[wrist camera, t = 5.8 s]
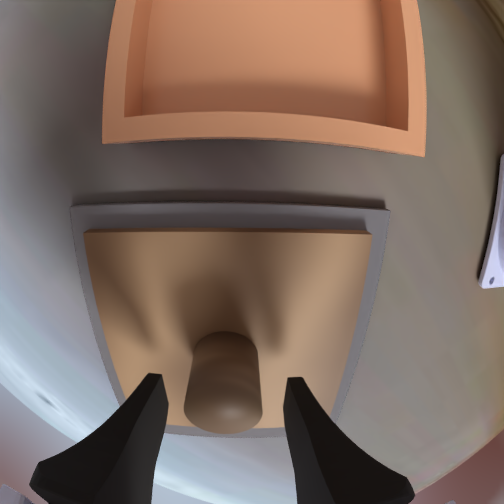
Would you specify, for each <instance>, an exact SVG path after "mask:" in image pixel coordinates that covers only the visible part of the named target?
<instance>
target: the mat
mask: <svg viewBox="0 0 504 504" xmlns="http://www.w3.org/2000/svg"><path fill="white" fill-rule="evenodd" d="M70 215H71V223H72V231H73V238H74V244H75V251H76V257H77V262H78V268H79V273H80V278H81V283H82V287H83V292H84V296H85V300H86V304H87V308H88V312H89V316H90V320H91V324H92V327H93V331H94V334H95V338H96V341H97V344H98V347H99V351H100V354H101V357H102V360H103V363H104V366H105V369H106V372H107V374H108V377H109V380H110V383H111V385H112V388H113V390H114V393H115V396H116V398H117V401H118V403H119V405H120V406H121V405H122V404H123V403H124V402H125V401H126V398H125V396H124V393H123V390H122V388H121V385H120V382H119V379H118V376H117V374H116V371H115V368H114V365H113V362H112V359H111V355H110V352H109V349H108V346H107V342H106V339H105V335H104V332H103V328H102V324H101V321H100V317H99V313H98V309H97V305H96V301H95V296H94V292H93V287H92V282H91V277H90V272H89V267H88V262H87V256H86V250H85V243H84V237H83V233H84V232H85V231H87V230H88V229H108V228H291V229H333V230H365V231H368V232H370V233H371V234H372V242H371V249H370V255H369V261H368V267H367V273H366V278H365V284H364V289H363V294H362V299H361V304H360V308H359V313H358V318H357V322H356V326H355V331H354V335H353V339H352V343H351V347H350V351H349V354H348V358H347V362H346V365H345V369H344V373H343V376H342V379H341V383H340V386H339V390H338V393H337V396H336V399H335V402H334V405H333V408H332V411H331V414H330V418H331V419H332V421H333V422H334V423H335V424H336V422H337V420H338V417H339V415H340V412H341V409H342V407H343V404H344V401H345V398H346V396H347V393H348V390H349V387H350V384H351V381H352V378H353V375H354V372H355V369H356V366H357V362H358V359H359V356H360V352H361V349H362V346H363V342H364V339H365V335H366V331H367V327H368V324H369V320H370V316H371V312H372V308H373V304H374V299H375V295H376V290H377V286H378V281H379V276H380V271H381V266H382V261H383V256H384V250H385V244H386V238H387V232H388V225H389V218H390V210H388V209H381V208H367V207H353V206H337V205H319V204H297V203H269V202H134V203H107V204H86V205H73V206H71V207H70ZM164 433H169V434H179V435H190V436H203V437H226V438H263V437H286V431H285V427H278V428H251V429H249V430H247V431H244V432H240V433H235V434H218V433H212V432H208V431H205V430H203V429H200V428H198V427H191V426H179V425H168V424H166V427H165V431H164Z"/></svg>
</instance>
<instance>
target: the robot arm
mask: <svg viewBox="0 0 504 504" xmlns="http://www.w3.org/2000/svg"><path fill="white" fill-rule="evenodd" d="M479 285H480V286H481V287H482V288H494V287H503V286H504V154H503V155H502V157H501V160H500V172H499V182H498V191H497V199H496V205H495V212H494V218H493V223H492V228H491V233H490V238H489V243H488V247H487V251H486V255H485V259H484V263H483V267H482V270H481V274H480V277H479ZM168 408H169V402H168V398H167V394H166V390H165V385H164V381H163V377H162V374H156V373H148V374H147V375H146V376H145V377H144V379H143V380H142V381H141V382H140V384H139V385H138V386H137V388H136V389H135V390H134V391H133V392H132V394H131V395H130V396H129V397H128V398H127V399H126V401H125V402H124V403H123V404H122V405H121V406H120V407H119V408H118V409H117V410H116V411H115V413H114V414H113V415H112V416H111V417H110V418H109V419H108V420H106V421H105V422H104V423H103V424H102V425H101V426H100V427H99V428H97V429H96V430H95V431H94V432H92V433H91V434H90V435H88V436H87V437H86V438H84V439H83V440H81V441H80V442H79V443H77V444H75V445H74V446H72V447H70V448H68V449H67V450H65V451H63V452H61V453H59V454H57V455H55V456H53V457H50V458H48V459H46V460H43V461H40V462H39V463H38V465H37V467H36V469H35V471H34V473H33V476H32V478H31V481H30V484H29V485H30V487H31V488H32V490H34V491H35V492H36V493H37V494H38V495H39V496H41V497H42V498H43V499H44V500H46V501H47V502H48V503H49V504H151V500H152V487H153V479H154V471H155V466H156V461H157V457H158V453H159V450H160V446H161V442H162V438H163V434H164V431H165V427H166V422H167V416H168ZM283 415H284V426H285V431H286V436H287V440H288V445H289V449H290V454H291V458H292V463H293V467H294V473H295V482H296V492H297V504H408V503H410V502H411V501H412V500H413V499H414V496H415V493H414V491H413V488H412V486H411V484H410V482H409V481H408V479H407V477H405V476H403V475H401V474H399V473H397V472H395V471H393V470H391V469H389V468H388V467H386V466H384V465H383V464H381V463H380V462H378V461H377V460H375V459H374V458H372V457H371V456H370V455H368V454H367V453H366V452H364V451H363V450H362V449H360V448H359V447H358V446H357V445H356V444H355V443H354V442H352V441H351V440H350V439H349V438H348V437H347V436H346V435H345V434H344V433H343V432H342V431H341V430H340V429H339V427H338V426H337V425H336V424H335V423H334V422H333V421H332V419H331V418H330V417H329V416H328V414H327V413H326V412H325V410H324V409H323V408H322V406H321V405H320V404H319V402H318V401H317V399H316V398H315V396H314V395H313V393H312V392H311V390H310V389H309V387H308V385H307V384H306V382H305V380H304V378H303V377H287V383H286V390H285V396H284V403H283ZM0 504H34V503H32V501H30V500H29V499H28V498H26V497H25V496H23V495H22V494H21V493H19V492H17V491H15V490H14V489H12V488H10V487H9V486H7V485H5V484H2V487H1V489H0ZM446 504H456V503H455V501H454V500H451V501H449V502H448V503H446Z"/></svg>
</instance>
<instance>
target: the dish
mask: <svg viewBox="0 0 504 504" xmlns="http://www.w3.org/2000/svg"><path fill="white" fill-rule="evenodd" d="M206 139H237V140H270V141H289V142H303V143H315V144H326V145H335V146H344V147H352V148H360V149H367V150H374V151H381V152H387V153H394V154H403V155H412V156H420V157H425V142H426V75H425V60H424V48H423V39H422V31H421V23H420V17H419V10H418V5H417V0H116V3H115V8H114V13H113V19H112V24H111V31H110V37H109V44H108V52H107V60H106V70H105V81H104V95H103V116H102V144H125V143H141V142H155V141H173V140H206Z"/></svg>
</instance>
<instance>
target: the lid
mask: <svg viewBox="0 0 504 504" xmlns="http://www.w3.org/2000/svg"><path fill="white" fill-rule="evenodd" d="M83 237H84V243H85V250H86V256H87V262H88V267H89V272H90V277H91V282H92V287H93V292H94V296H95V301H96V305H97V309H98V313H99V317H100V321H101V324H102V328H103V332H104V335H105V339H106V342H107V346H108V349H109V352H110V355H111V359H112V362H113V365H114V368H115V371H116V374H117V376H118V379H119V382H120V385H121V388H122V390H123V393H124V396H125V398H126V399H127V398H128V397H129V396H130V395H131V394H132V392H133V391H134V390H135V389H136V388H137V386H138V385H139V384H140V382H141V381H142V380H143V379H144V377H145V376H146V375H147V374H148V373H156V374H162V377H163V381H164V385H165V390H166V394H167V398H168V402H169V408H168V416H167V422H166V424H168V425H179V426H191V427H198V428H200V429H203V430H205V431H208V432H212V433H218V434H235V433H240V432H244V431H247V430H249V429H251V428H278V427H285V426H284V415H283V403H284V396H285V390H286V383H287V377H303V378H304V380H305V382H306V384H307V385H308V387H309V389H310V390H311V392H312V393H313V395H314V396H315V398H316V399H317V401H318V402H319V404H320V405H321V406H322V408H323V409H324V410H325V412H326V413H327V414H328V416H329V417H330V414H331V411H332V408H333V405H334V402H335V399H336V396H337V393H338V390H339V386H340V383H341V379H342V376H343V373H344V369H345V365H346V362H347V358H348V354H349V351H350V347H351V343H352V339H353V335H354V331H355V326H356V322H357V318H358V313H359V308H360V304H361V299H362V294H363V289H364V284H365V278H366V273H367V267H368V261H369V255H370V249H371V242H372V234H371V233H370V232H368V231H365V230H333V229H291V228H108V229H88V230H87V231H85V232H84V233H83Z"/></svg>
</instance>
